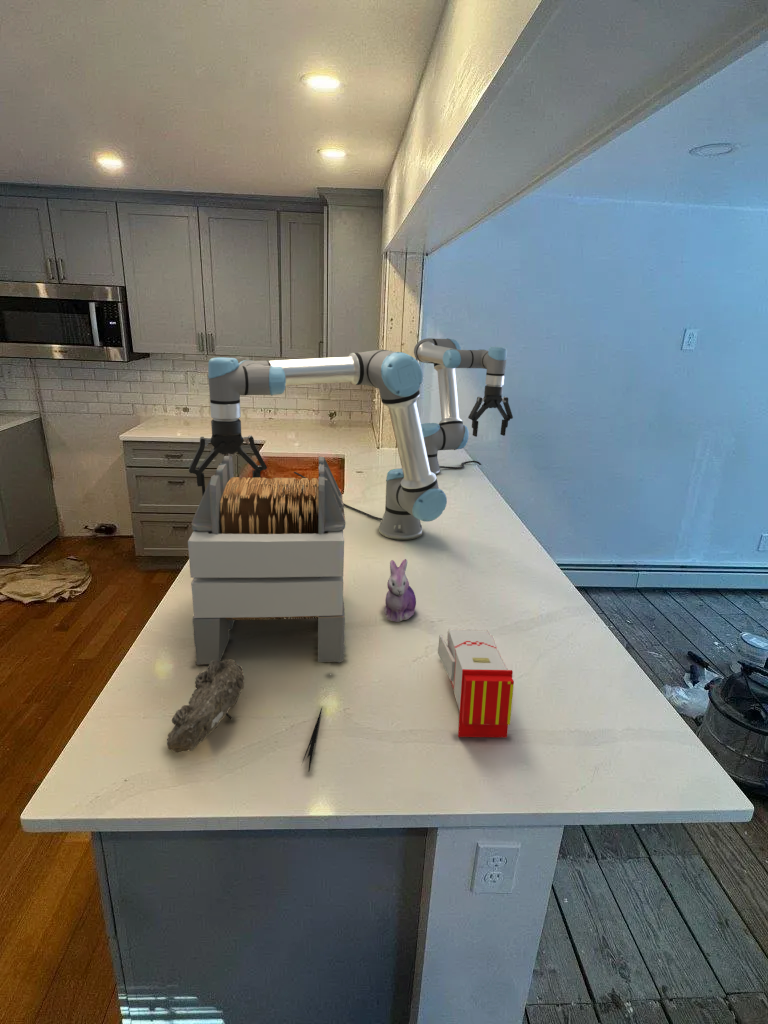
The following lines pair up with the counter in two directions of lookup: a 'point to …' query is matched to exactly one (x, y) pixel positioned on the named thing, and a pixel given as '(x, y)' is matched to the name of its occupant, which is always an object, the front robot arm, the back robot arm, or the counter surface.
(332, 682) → the counter surface
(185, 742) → the fossil
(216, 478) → the rotary card file
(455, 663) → the toy
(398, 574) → the figurine
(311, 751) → the feather
